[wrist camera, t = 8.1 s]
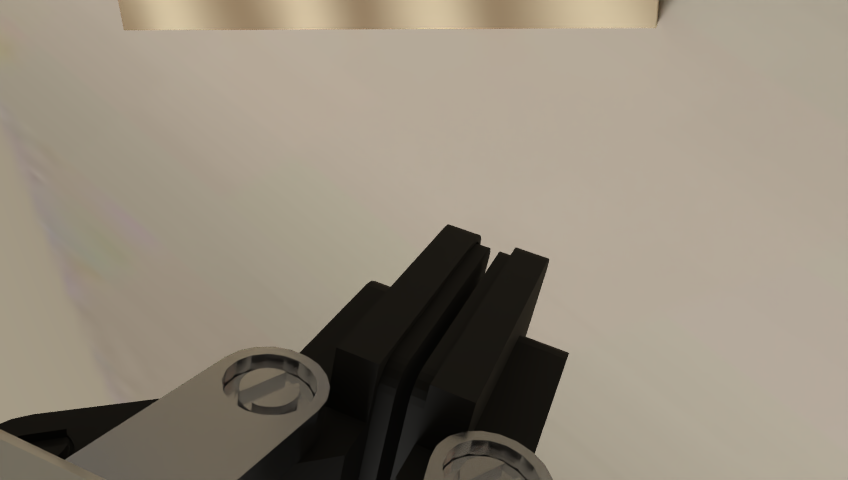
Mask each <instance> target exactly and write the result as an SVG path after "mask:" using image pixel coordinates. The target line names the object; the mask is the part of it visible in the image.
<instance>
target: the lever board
mask: <svg viewBox="0 0 848 480" xmlns="http://www.w3.org/2000/svg"><path fill="white" fill-rule="evenodd" d="M118 2H119V7H120V12H121V17H122V22H123V27H124V30H277V29H519V28H656V26H657V22H658V9H659V0H118Z"/></svg>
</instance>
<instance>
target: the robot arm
mask: <svg viewBox="0 0 848 480" xmlns="http://www.w3.org/2000/svg"><path fill="white" fill-rule="evenodd" d="M480 243H481V236H480V235H478V234H475V233H472V232H469V231H466V230H463V229H460V228H457V227H454V226H451V225H449V224H448V225H446V226H445V227H444V228H443V230H442V231H441V232H440V233H439V234H438V235H437V236H436V237H435V238H434V240H433V241H432V242H431V243H430V244H429V245H428V246H427V247H426V248H425V250H424V251H423V252H422V253H421V254H420V255H419V256H418V257H417V258H416V260H415V261H414V262H413V263H412V264H411V265H410V266H409V267H408V268H407V269H406V271H405V272H404V273H403V274H402V275H401V276H400V277H399V278H398V279H397V281H396V282H395V283H394V284H393V285H392V286H391V287H389V286H387V285H384V284H381V283H378V282H376V281H371V282H369V283H368V284H366V285H365V286H364V287H363V289H362V290H361V291H360V292H359V293H358V294H357V295H356V296H355V297H354V298H353V299H352V300H351V301H350V302H349V303H348V304H347V305H346V306H345V307H344V308H343V309H342V310H341V311H340V312H339V313H338V314H337V315H336V316H335V317H334V318H333V319H332V320H331V321H330V322H329V323H328V324H327V325H326V326H325V327H324V328H323V329H322V330H321V331H320V333H319V334H318V335H317V336H316V337H315V338H314V339H313V340H312V341H311V342H310V343H309V344H308V345H307V346H306V347H305V348H304V349H303V350H302V351H301V352H300V353H298V352H295V351H293V350H289V349H283V348H278V347H254V348H249V349H244V350H239V351H237V352H235V353H233V354H231V355H228V356H226V357H224V358H223V359H221V360H220V361H218V362H217V363H215V364H213V365H212V366H210V367H209V368H207V369H206V370H204V371H202V372H201V373H199V374H198V375H196V376H195V377H193V378H192V379H190V380H188V381H187V382H185V383H184V384H182V385H181V386H179V387H177V388H176V389H174V390H173V391H171V392H170V393H168V394H167V395H165V396H163V397H162V398H160V399H153V400H145V401H137V402H129V403H121V404H113V405H105V406H97V407H89V408H81V409H73V410H65V411H57V412H49V413H41V414H33V415H28V416H24V417H20V418H15V419H11V420H8V421H6V422H4V423H1V424H0V480H553V479H552V477H551V475H550V473H549V471H548V469H547V468H546V466H545V465H544V463H543V462H542V461H541V460H540V459H539V458H538V457H537V456H536V455H535V451H536V448H537V445H538V442H539V439H540V436H541V433H542V430H543V427H544V424H545V421H546V419H547V416H548V413H549V410H550V407H551V404H552V401H553V398H554V395H555V392H556V389H557V386H558V383H559V381H560V378H561V375H562V372H563V369H564V366H565V363H566V360H567V357H568V354H569V353H568V352H565V351H562V350H560V349H557V348H554V347H551V346H549V345H546V344H543V343H541V342H538V341H535V340H533V339H530V338H527V337H526V334H527V330H528V327H529V324H530V321H531V318H532V315H533V311H534V308H535V305H536V302H537V299H538V296H539V292H540V289H541V286H542V283H543V280H544V277H545V273H546V270H547V267H548V263H549V259H548V258H545V257H542V256H539V255H536V254H533V253H530V252H528V251H525V250H522V249H519V248H515V249H514V251H513V252H512V254H511V255H508V254H505V253H502V252H499V253H498V255H497V256H496V258H495V259H494V261H493V262H492V264H491V265H490V267H489V268H488V270H487V271H486V267H487V263H488V259H489V255H490V248H488V247H485V246H482V245H480ZM485 271H486V273H485Z"/></svg>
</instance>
